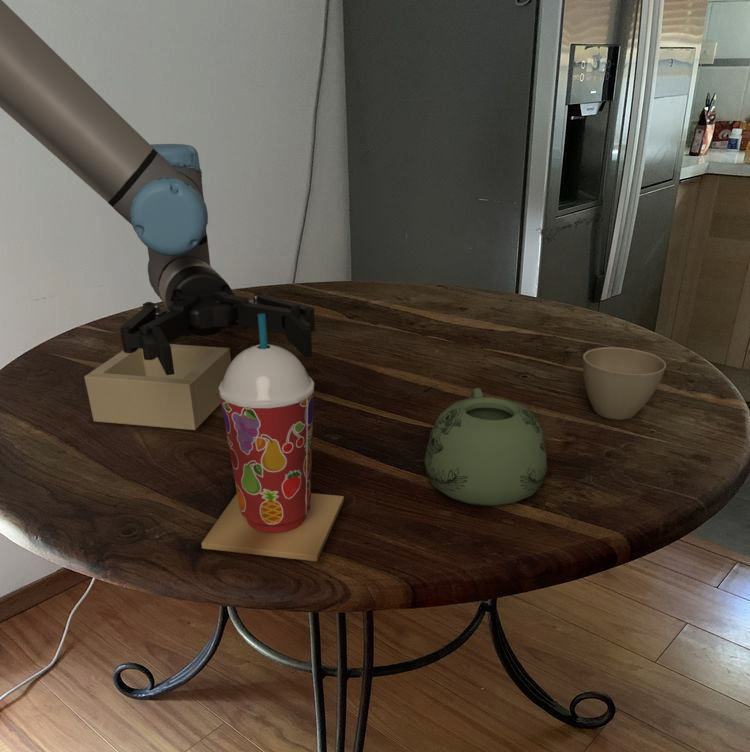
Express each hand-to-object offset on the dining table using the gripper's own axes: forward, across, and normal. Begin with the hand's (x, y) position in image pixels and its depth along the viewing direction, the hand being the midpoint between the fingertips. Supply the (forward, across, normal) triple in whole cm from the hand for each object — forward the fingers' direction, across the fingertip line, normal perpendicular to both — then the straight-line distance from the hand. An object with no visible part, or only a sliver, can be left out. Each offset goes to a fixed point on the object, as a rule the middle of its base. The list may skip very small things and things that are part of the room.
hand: (240, 352), depth 70 cm
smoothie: (+8, 0, -14) cm, 16 cm away
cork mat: (+8, 0, -15) cm, 17 cm away
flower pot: (-1, -48, -15) cm, 51 cm away
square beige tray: (-26, +5, -15) cm, 30 cm away
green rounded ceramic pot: (+7, -24, -15) cm, 29 cm away
